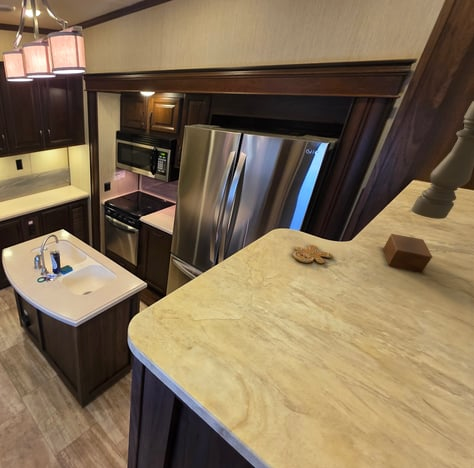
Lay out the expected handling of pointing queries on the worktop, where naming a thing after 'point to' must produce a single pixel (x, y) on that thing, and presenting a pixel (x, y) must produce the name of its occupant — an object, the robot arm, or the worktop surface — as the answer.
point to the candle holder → (449, 174)
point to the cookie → (310, 254)
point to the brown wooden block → (407, 253)
